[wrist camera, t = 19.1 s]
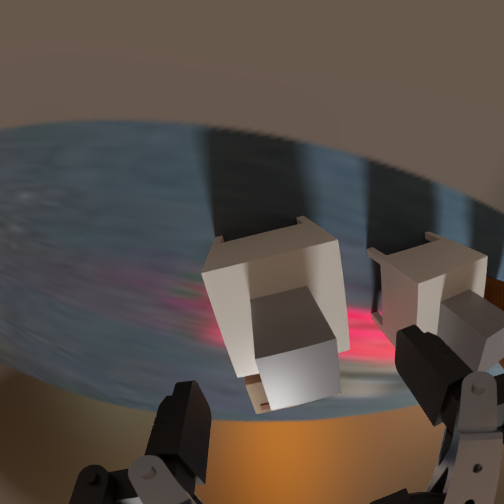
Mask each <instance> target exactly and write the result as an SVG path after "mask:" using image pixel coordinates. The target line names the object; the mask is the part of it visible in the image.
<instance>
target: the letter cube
mask: <svg viewBox="0 0 504 504" xmlns="http://www.w3.org/2000/svg"><path fill="white" fill-rule="evenodd" d="M245 386H246V388H247V391H248V393H249V396H250V399H251V401H252V404H253V406H254V409H255V411H256V414H260V413H265V412H270V411H271V408H270V405H269V402H268V399H267V395H266V392H265V389H264V386H263V383H262V380H261V377H260V374H254V375H249V376H245ZM298 405H300V404H298ZM294 406H297V405H294ZM290 407H293V406H290ZM286 408H289V407H286ZM281 409H284V408H281ZM276 410H280V409H276ZM272 411H275V410H272Z"/></svg>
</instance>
